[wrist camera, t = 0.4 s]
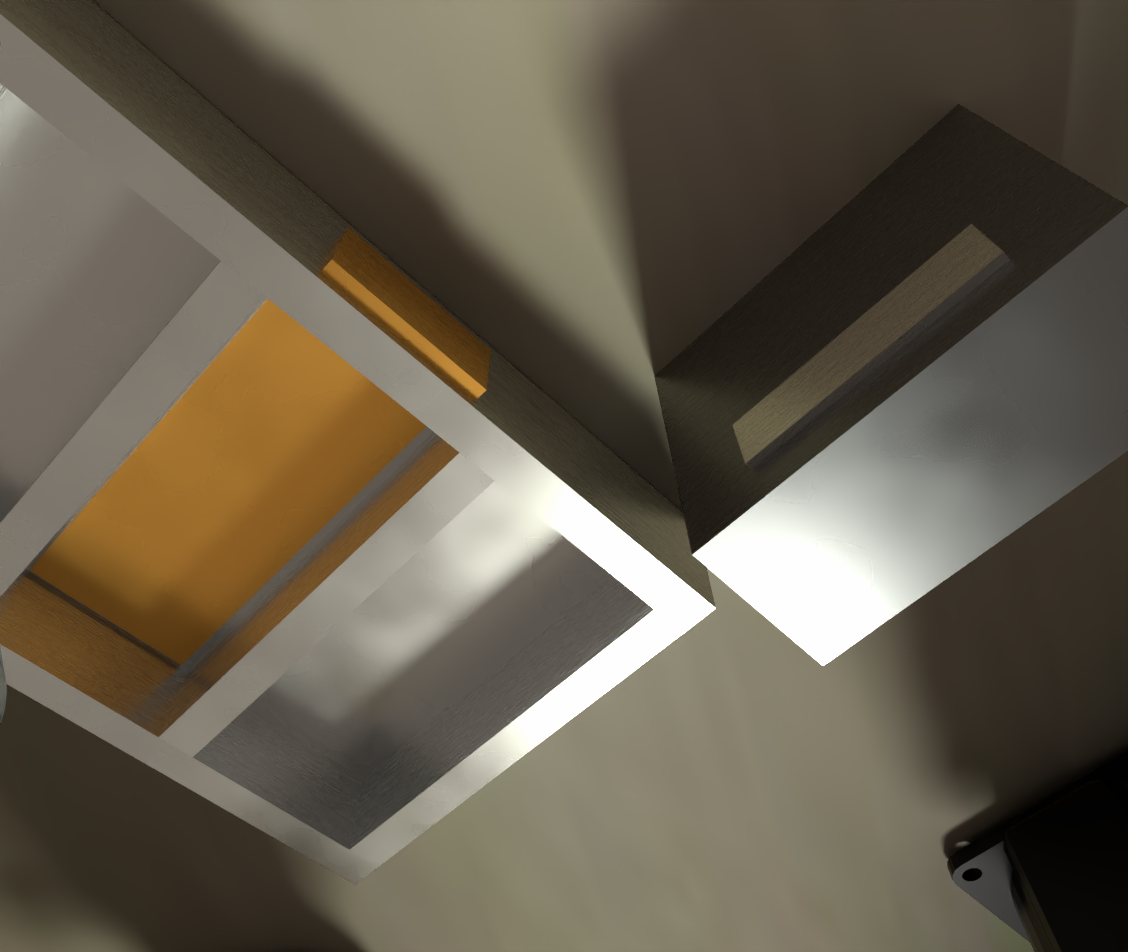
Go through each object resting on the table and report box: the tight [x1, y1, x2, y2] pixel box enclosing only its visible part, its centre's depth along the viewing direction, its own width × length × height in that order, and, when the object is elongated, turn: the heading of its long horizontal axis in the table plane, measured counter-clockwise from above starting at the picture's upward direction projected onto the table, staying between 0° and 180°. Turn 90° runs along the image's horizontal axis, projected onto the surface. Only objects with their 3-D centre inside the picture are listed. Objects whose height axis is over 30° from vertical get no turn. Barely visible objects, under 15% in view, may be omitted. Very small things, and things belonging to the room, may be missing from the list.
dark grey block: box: [655, 104, 1128, 666], centre depth 17 cm, size 3×7×6 cm, turn 136°
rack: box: [0, 0, 716, 884], centre depth 20 cm, size 15×11×3 cm
